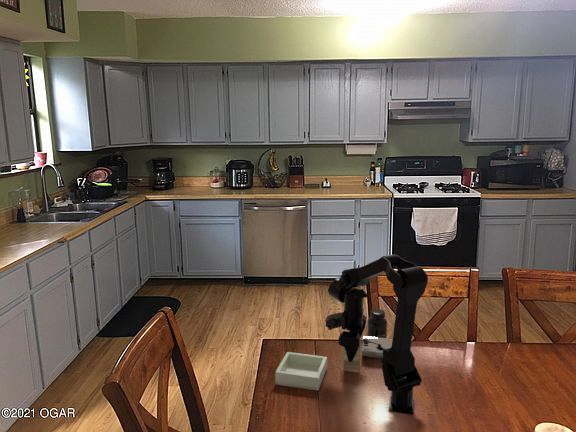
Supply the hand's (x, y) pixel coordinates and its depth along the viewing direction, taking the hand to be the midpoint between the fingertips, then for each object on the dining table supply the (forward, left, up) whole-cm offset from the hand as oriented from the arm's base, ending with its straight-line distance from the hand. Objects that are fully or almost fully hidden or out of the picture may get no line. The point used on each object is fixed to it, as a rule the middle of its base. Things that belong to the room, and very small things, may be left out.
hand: (352, 354), depth 151 cm
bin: (-9, +14, -5) cm, 17 cm away
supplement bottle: (+19, -6, -5) cm, 21 cm away
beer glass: (+11, -17, -2) cm, 20 cm away
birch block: (0, 0, -5) cm, 5 cm away
